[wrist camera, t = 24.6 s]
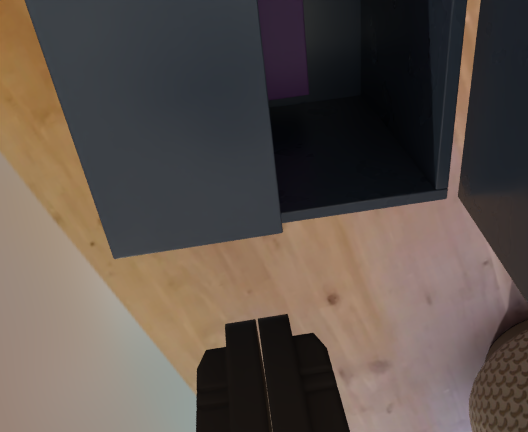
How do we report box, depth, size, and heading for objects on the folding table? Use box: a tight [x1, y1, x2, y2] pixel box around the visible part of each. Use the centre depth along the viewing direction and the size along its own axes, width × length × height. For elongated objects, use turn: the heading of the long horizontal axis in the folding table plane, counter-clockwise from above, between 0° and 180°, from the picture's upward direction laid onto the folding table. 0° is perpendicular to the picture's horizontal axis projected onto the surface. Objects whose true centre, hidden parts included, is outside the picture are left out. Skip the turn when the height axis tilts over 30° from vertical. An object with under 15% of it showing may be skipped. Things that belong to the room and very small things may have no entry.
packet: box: [258, 0, 309, 101], centre depth 24 cm, size 7×4×3 cm, turn 7°
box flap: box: [25, 0, 283, 259], centre depth 16 cm, size 6×11×1 cm, turn 6°
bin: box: [269, 0, 528, 303], centre depth 19 cm, size 14×11×18 cm
